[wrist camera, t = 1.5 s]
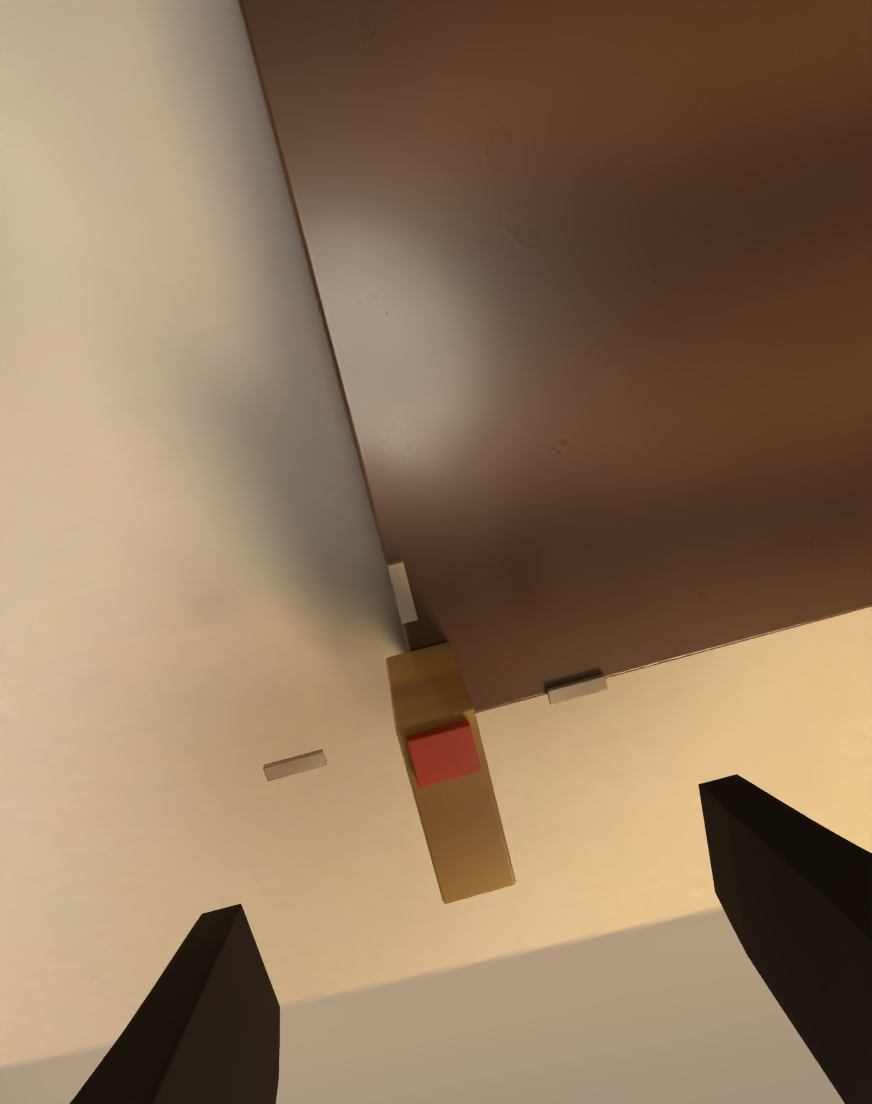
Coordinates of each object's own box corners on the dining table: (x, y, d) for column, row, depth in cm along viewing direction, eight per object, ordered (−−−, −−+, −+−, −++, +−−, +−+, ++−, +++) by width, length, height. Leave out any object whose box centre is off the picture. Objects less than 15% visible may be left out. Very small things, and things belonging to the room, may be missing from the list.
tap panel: (1072, 635, 24) (1179, 677, 21) (317, 842, 23) (313, 919, 19) (1056, -271, 18) (1204, -398, 15) (32, -51, 17) (-38, -140, 14)
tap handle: (486, 790, 19) (519, 893, 16) (425, 807, 19) (445, 913, 16) (449, 640, 18) (475, 712, 15) (385, 657, 18) (396, 734, 15)
